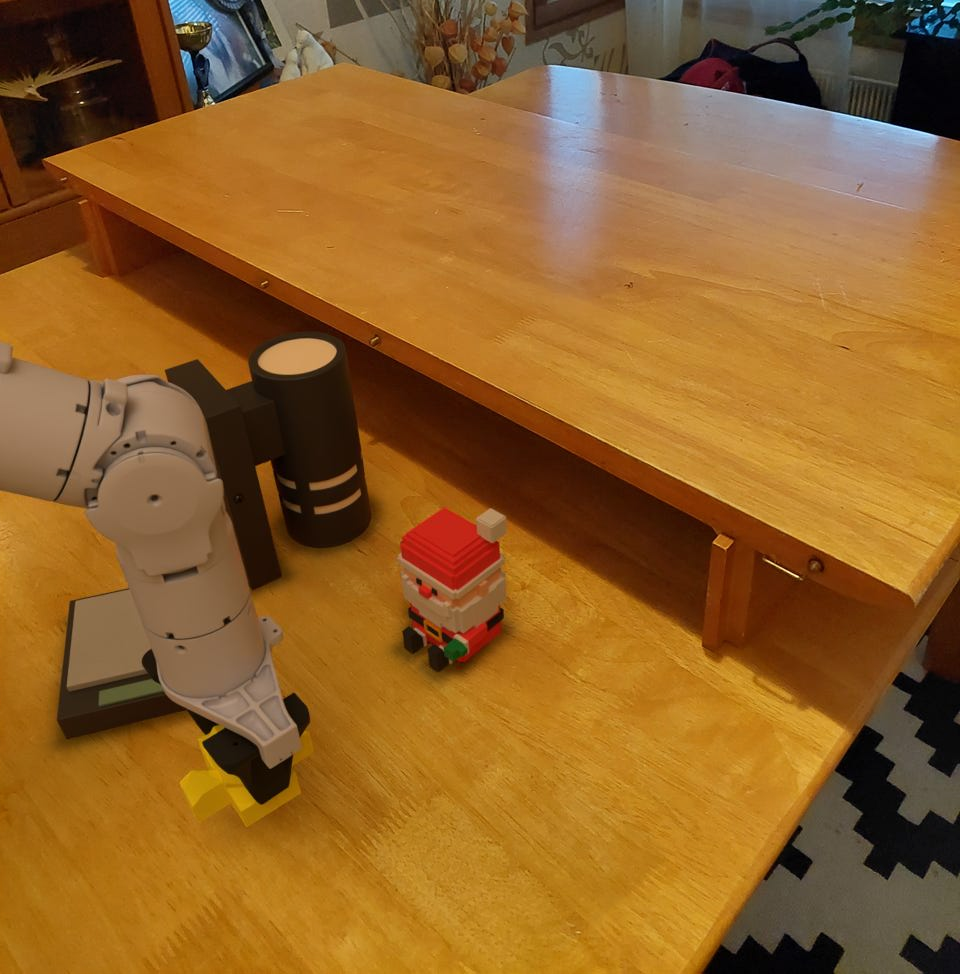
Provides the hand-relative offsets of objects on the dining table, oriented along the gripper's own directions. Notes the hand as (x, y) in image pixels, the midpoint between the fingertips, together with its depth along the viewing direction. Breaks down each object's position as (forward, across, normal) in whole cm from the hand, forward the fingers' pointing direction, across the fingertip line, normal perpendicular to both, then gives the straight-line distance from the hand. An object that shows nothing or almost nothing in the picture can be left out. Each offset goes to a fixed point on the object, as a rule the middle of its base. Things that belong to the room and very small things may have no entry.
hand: (246, 758), depth 57 cm
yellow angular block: (+2, 0, 0) cm, 2 cm away
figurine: (+8, +5, -20) cm, 22 cm away
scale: (+8, +21, -1) cm, 22 cm away
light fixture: (+8, +25, -18) cm, 32 cm away
